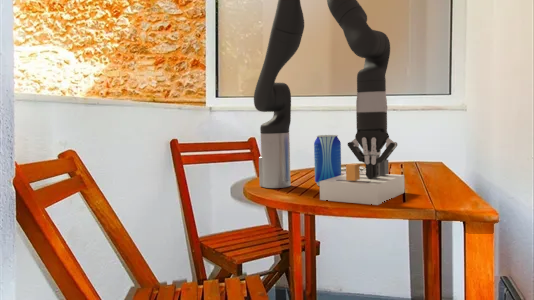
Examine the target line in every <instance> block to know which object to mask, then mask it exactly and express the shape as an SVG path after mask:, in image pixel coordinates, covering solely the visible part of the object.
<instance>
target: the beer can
mask: <svg viewBox="0 0 534 300" xmlns="http://www.w3.org/2000/svg"><path fill="white" fill-rule="evenodd" d="M338 136H339V135H337V134H319V135H316V139H315V140H314V141H313V149H314V153H313V156H314V157H313V158H314V159H313V160H314V182H315V183H316V184H317V186H318V187H320V181H323V180H326V179H330V178H333V177H337V176H341V175H342V152H341V151H342V149H341V148H342V147H341V146H342V145H341V144H342V143H341V140H340V139H339V138H338Z"/></svg>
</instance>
